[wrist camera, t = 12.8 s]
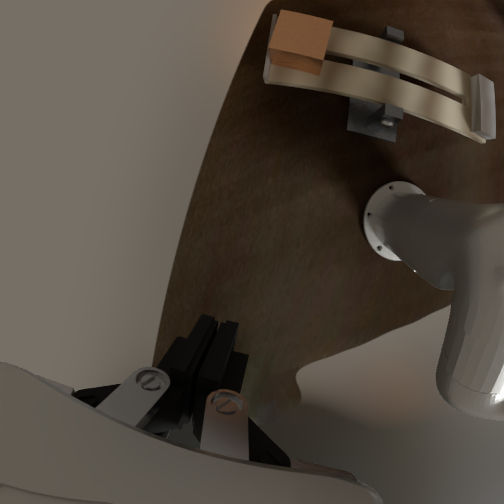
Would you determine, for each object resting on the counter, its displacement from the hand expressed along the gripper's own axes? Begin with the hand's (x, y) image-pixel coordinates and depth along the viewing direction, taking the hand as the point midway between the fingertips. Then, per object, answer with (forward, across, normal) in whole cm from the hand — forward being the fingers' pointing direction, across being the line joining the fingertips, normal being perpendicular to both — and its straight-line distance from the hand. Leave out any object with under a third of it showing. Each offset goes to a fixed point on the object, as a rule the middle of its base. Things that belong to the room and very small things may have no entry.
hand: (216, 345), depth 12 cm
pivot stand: (+32, -12, -25) cm, 43 cm away
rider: (+24, 0, -25) cm, 35 cm away
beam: (+24, -12, -25) cm, 37 cm away
